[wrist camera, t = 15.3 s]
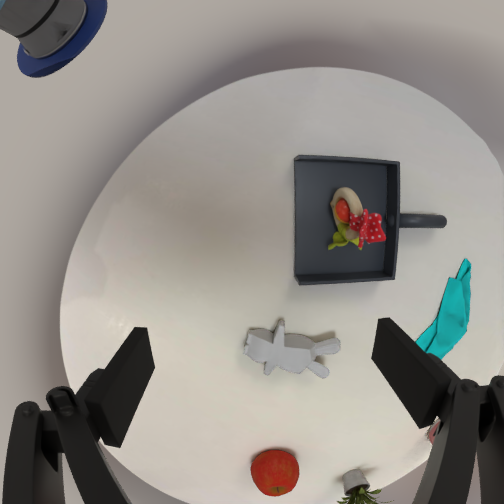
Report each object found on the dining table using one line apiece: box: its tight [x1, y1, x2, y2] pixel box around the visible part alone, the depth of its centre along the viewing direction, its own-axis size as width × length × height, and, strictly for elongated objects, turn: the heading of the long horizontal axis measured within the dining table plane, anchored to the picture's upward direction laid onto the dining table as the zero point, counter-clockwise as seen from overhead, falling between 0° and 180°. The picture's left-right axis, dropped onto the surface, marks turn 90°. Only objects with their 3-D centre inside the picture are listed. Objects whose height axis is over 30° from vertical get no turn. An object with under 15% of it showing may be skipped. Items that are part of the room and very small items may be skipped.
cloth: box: [415, 259, 471, 359], centre depth 47 cm, size 26×14×2 cm, turn 153°
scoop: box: [294, 155, 447, 285], centre depth 41 cm, size 27×18×4 cm
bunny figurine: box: [243, 320, 340, 378], centre depth 45 cm, size 10×5×15 cm
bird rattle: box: [328, 187, 386, 250], centre depth 37 cm, size 6×11×9 cm
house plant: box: [337, 469, 381, 504], centre depth 49 cm, size 14×14×16 cm
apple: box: [251, 450, 299, 496], centre depth 49 cm, size 11×11×11 cm
